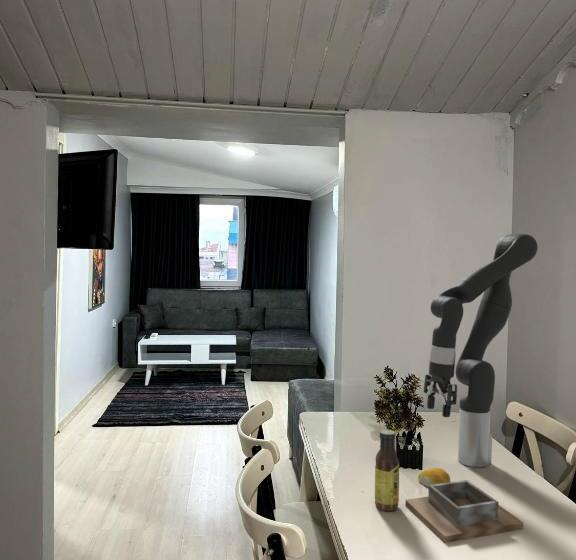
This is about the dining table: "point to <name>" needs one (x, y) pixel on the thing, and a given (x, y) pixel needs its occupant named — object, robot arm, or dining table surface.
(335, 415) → the dining table surface
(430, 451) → the dining table surface
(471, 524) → the bottle stand
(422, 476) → the bread roll
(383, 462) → the sauce bottle
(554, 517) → the dining table surface
